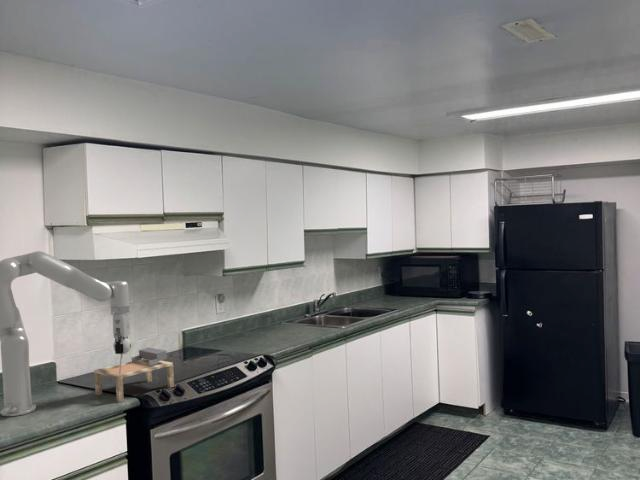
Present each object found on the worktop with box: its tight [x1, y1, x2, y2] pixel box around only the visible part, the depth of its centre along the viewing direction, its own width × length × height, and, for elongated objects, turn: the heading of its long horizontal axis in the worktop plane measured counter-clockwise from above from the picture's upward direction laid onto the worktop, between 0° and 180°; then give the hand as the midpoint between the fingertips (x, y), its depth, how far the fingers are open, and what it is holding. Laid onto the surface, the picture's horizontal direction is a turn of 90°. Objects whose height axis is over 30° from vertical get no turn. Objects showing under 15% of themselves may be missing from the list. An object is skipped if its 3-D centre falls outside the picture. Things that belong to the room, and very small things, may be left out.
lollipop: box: [113, 337, 132, 373], centre depth 249 cm, size 7×7×15 cm
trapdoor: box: [107, 347, 168, 379], centre depth 255 cm, size 22×14×6 cm, turn 139°
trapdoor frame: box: [93, 358, 175, 403], centre depth 254 cm, size 26×19×10 cm
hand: (122, 351), depth 250 cm, fingers open, 8 cm apart
